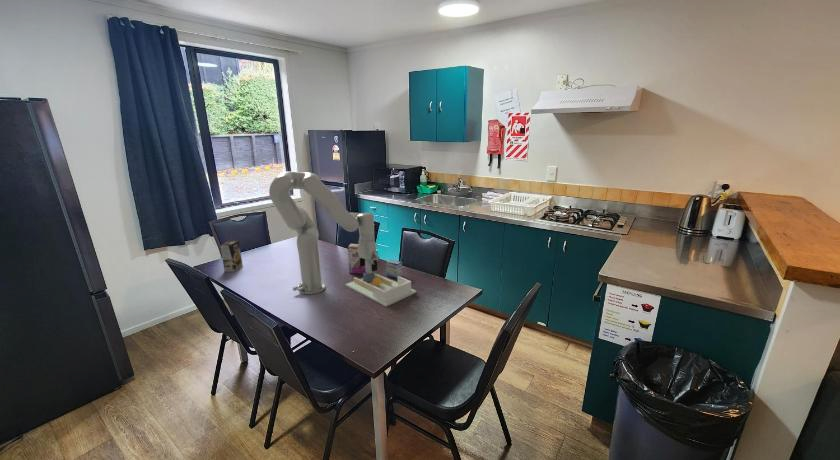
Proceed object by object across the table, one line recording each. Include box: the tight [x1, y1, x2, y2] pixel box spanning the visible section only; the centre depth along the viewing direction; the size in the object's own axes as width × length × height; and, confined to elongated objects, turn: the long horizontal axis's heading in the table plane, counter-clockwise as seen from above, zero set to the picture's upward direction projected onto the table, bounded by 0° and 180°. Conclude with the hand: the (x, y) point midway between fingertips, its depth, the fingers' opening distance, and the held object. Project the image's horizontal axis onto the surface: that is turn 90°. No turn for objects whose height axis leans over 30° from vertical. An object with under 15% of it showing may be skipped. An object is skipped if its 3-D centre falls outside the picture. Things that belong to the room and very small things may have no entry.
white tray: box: [345, 272, 417, 308], centre depth 175 cm, size 20×32×6 cm, turn 46°
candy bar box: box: [347, 243, 366, 275], centre depth 194 cm, size 11×5×16 cm, turn 84°
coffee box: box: [219, 240, 243, 273], centre depth 200 cm, size 9×6×16 cm
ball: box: [372, 277, 381, 286], centre depth 177 cm, size 4×4×4 cm
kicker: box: [362, 259, 376, 283], centre depth 179 cm, size 6×3×15 cm, turn 136°
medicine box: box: [385, 259, 403, 279], centre depth 190 cm, size 8×4×9 cm, turn 62°
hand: (368, 268), depth 179 cm, fingers open, 9 cm apart
